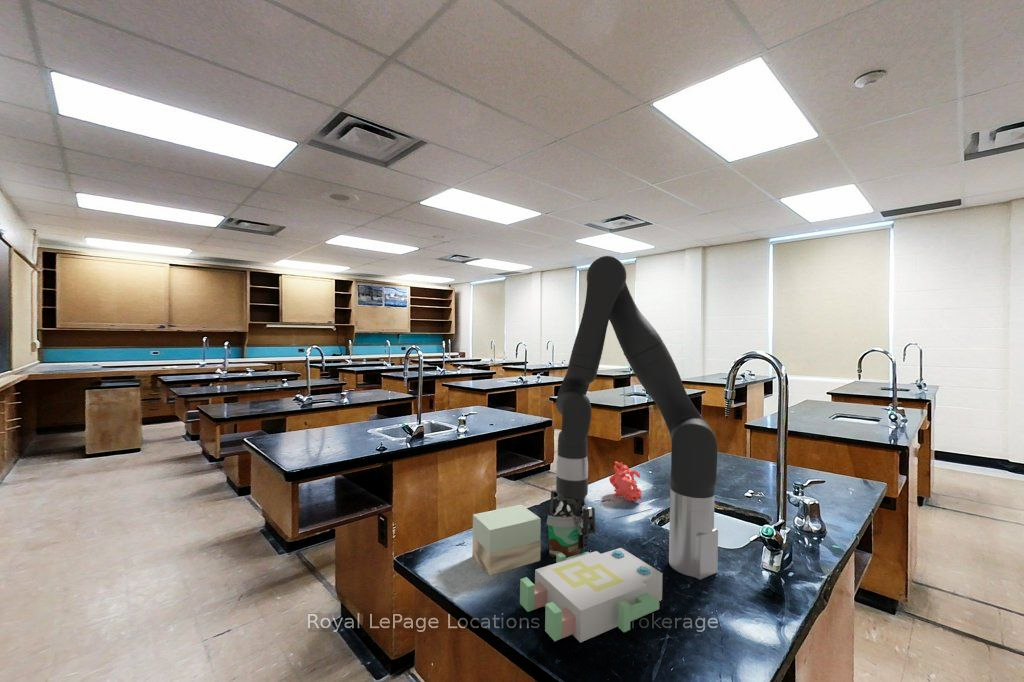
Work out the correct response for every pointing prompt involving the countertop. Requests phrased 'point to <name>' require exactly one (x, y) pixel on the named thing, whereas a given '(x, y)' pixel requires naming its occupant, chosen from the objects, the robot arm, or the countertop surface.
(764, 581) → the countertop surface
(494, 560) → the tower base block
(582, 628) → the decorative block
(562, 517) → the food container
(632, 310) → the robot arm
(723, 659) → the countertop surface
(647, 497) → the countertop surface
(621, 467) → the anatomical heart
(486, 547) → the tower top block
